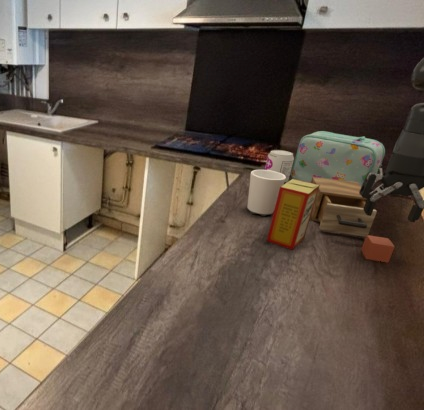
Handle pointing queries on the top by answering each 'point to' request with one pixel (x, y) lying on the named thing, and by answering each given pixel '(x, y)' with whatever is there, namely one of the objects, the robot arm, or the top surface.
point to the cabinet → (334, 191)
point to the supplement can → (280, 162)
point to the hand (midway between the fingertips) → (388, 217)
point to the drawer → (344, 215)
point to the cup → (264, 191)
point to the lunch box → (337, 157)
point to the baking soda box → (292, 213)
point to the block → (377, 248)
